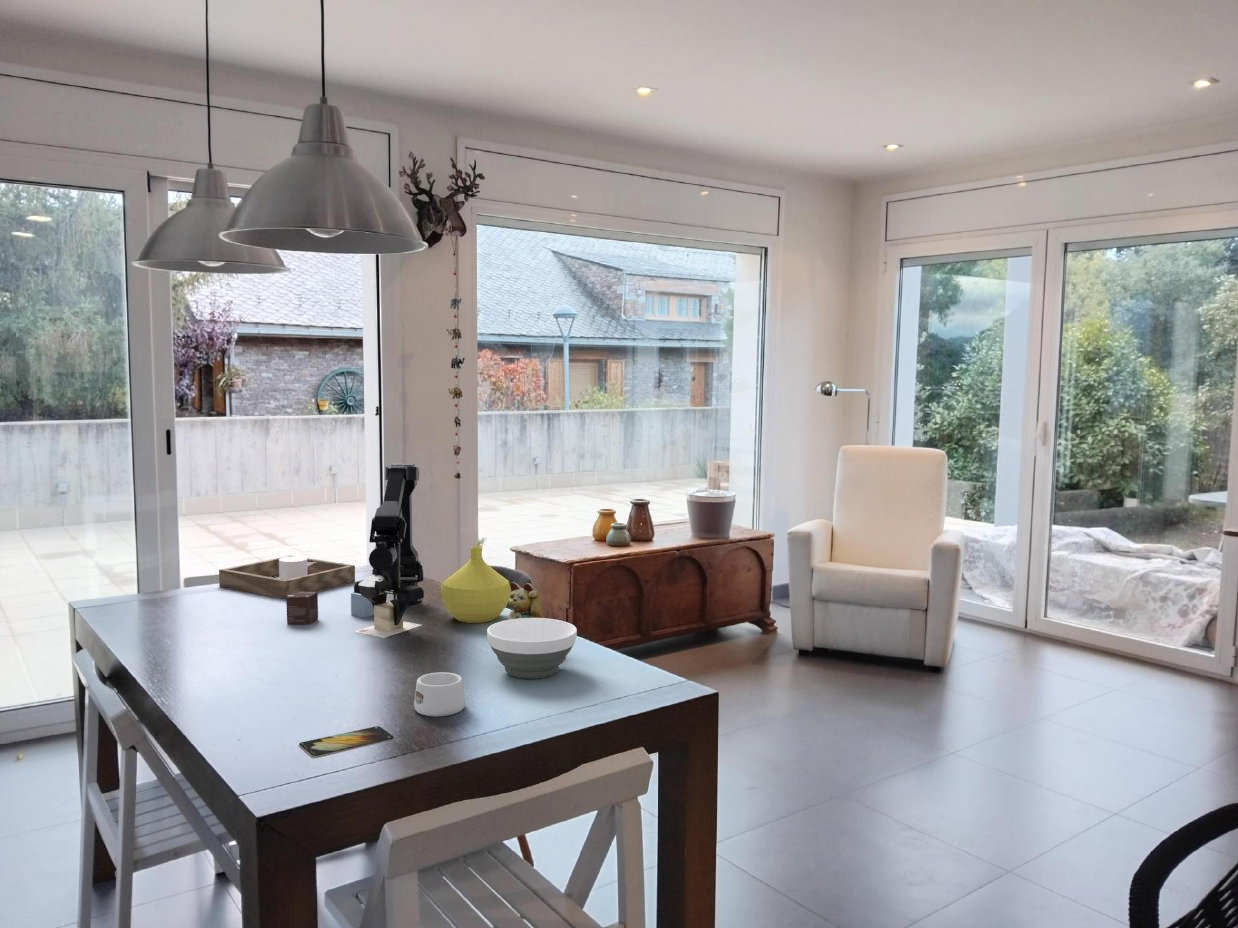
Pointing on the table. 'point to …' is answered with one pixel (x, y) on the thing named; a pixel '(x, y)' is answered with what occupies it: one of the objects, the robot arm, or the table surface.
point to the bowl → (531, 645)
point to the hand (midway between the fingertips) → (388, 623)
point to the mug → (439, 694)
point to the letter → (384, 634)
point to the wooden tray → (261, 582)
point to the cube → (361, 606)
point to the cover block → (385, 617)
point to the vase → (475, 591)
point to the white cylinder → (293, 567)
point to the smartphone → (345, 741)
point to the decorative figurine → (524, 602)
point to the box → (302, 607)
